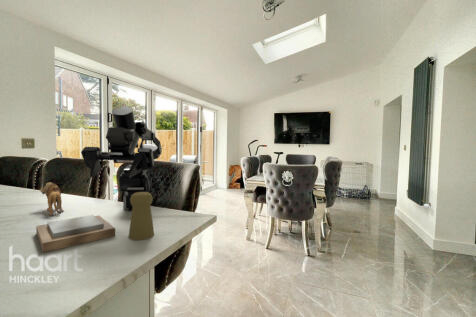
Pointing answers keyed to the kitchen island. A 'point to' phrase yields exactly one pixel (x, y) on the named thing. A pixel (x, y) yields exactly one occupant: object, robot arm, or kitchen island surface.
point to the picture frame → (73, 232)
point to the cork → (141, 216)
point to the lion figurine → (53, 197)
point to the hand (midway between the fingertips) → (110, 176)
